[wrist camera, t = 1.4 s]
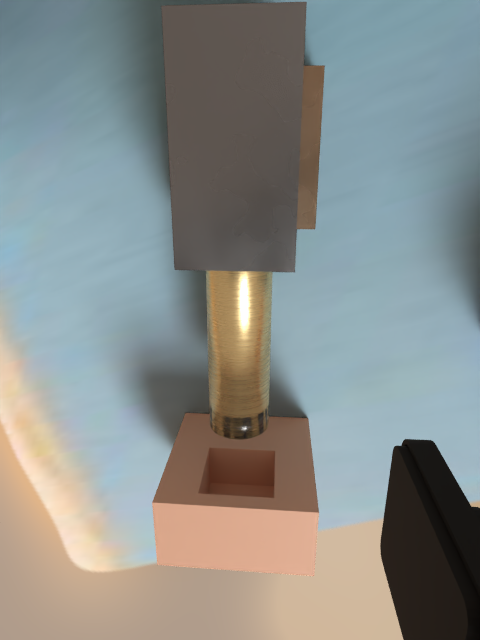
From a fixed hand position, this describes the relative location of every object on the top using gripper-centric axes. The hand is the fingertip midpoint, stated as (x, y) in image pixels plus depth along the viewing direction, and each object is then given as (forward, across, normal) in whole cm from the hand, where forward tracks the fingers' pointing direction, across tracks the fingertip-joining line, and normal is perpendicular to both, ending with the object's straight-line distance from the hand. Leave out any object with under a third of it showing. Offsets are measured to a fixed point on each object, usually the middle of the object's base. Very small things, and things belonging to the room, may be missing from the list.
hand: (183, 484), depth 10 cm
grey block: (+17, -1, -7) cm, 19 cm away
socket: (+17, 0, +11) cm, 20 cm away
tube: (+13, 0, -2) cm, 13 cm away
